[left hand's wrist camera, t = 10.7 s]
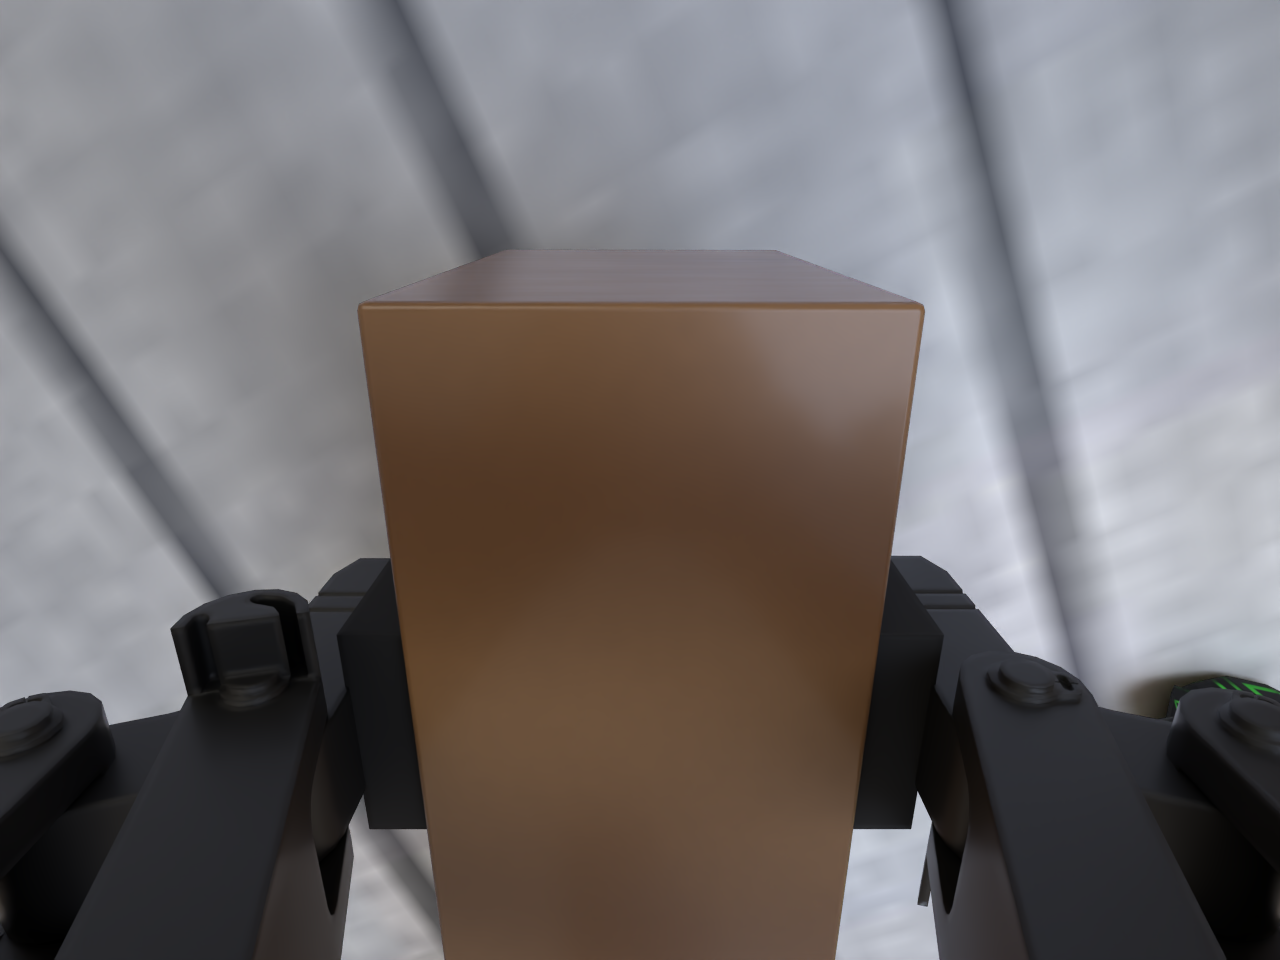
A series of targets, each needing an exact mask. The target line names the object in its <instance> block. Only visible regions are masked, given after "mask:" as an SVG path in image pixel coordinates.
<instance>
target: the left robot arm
mask: <svg viewBox="0 0 1280 960" xmlns="http://www.w3.org/2000/svg"><path fill="white" fill-rule="evenodd" d="M171 633H172V637H173V641H174V645H175V648H176V652H177V656H178V660H179V664H180V667H181V671H182V675H183V679H184V683H185V686H186V690H187V694H188V697H187V699H186V701H185V703H184V705H183V707H182V708H181V710H180V711H177V712H173V713H169V714H164V715H159V716H154V717H149V718H144V719H139V720H133V721H128V722H123V723H118V724H113V725H109V724H108V720H107V717H106V714H105V711H104V708H103V704H102V702H101V701H100V700H99V699H97V698H96V697H95V696H93V695H92V694H91V693H84V692H77V691H62V692H54V693H42V694H37V695H32V696H29V697H28V698H26V699H25V697H24V698H21V699H18V700H15V701H12V702H9V703H7V704H5V705H4V706H3V707H1V708H0V960H341V953H342V945H343V937H344V929H345V921H346V914H347V906H348V898H349V890H350V882H351V874H352V866H353V859H354V855H353V847H352V840H351V835H350V830H349V823H350V821H351V819H352V817H353V814H354V812H355V810H356V808H357V806H358V804H359V802H360V800H361V797H362V795H363V794H364V800H365V806H366V811H367V817H368V823H369V829H427V825H426V818H425V810H424V803H423V795H422V788H421V781H420V773H419V766H418V758H417V751H416V743H415V736H414V729H413V721H412V714H411V706H410V699H409V691H408V684H407V677H406V669H405V662H404V654H403V647H402V639H401V632H400V625H399V617H398V610H397V602H396V595H395V587H394V580H393V573H392V565H391V558H360V559H358V560H357V561H355V562H353V563H352V564H350V565H348V566H347V567H345V568H343V569H342V570H340V571H338V572H337V573H335V574H334V575H333V576H332V577H331V578H330V579H329V581H328V582H327V583H326V584H325V585H324V587H323V588H322V589H321V590H320V591H319V595H318V596H315V597H314V599H313V600H312V601H311V602H310V604H309V605H308V601H307V600H306V599H304V598H303V597H302V596H300V595H299V594H297V593H294V592H289V591H284V590H279V589H273V590H253V591H247V592H242V593H237V594H232V595H228V596H225V597H222V598H219V599H217V600H214V601H211V602H208V603H205V604H203V605H201V606H200V607H198V608H196V609H194V610H193V611H191V612H189V613H187V614H186V615H184V616H183V617H182V618H181V619H180V620H179V621H178V622H177V623H176V624H175V625H174V626H173V627H172V628H171ZM917 791H918V793H919V795H920V797H921V799H922V801H923V803H924V805H925V807H926V810H927V812H928V814H929V816H930V818H931V820H932V824H931V830H930V835H929V840H928V846H927V851H926V857H925V862H924V868H923V873H922V879H921V884H920V890H919V897H918V904H917V905H922V906H926V907H927V906H928V901H929V896H930V891H931V896H932V904H933V912H934V920H935V928H936V935H937V943H938V951H939V959H940V960H1280V703H1279V702H1277V701H1276V700H1274V699H1271V698H1268V697H1265V696H1262V695H1259V694H1257V695H1254V694H1253V693H1252V692H1247V691H1242V690H1231V689H1222V688H1214V687H1210V688H1203V689H1195V690H1191V691H1189V692H1188V693H1187V694H1185V695H1184V696H1182V697H1181V698H1180V700H1179V703H1178V707H1177V710H1176V713H1175V716H1174V719H1173V722H1169V721H1164V720H1159V719H1154V718H1149V717H1144V716H1138V715H1133V714H1128V713H1123V712H1118V711H1113V710H1109V709H1105V708H1101V707H1098V705H1097V703H1096V701H1095V699H1094V697H1093V695H1092V694H1091V693H1090V692H1089V690H1088V689H1087V688H1086V687H1085V686H1084V684H1083V683H1082V682H1081V681H1080V680H1079V679H1078V678H1076V677H1075V676H1073V675H1072V674H1070V673H1069V672H1067V671H1066V670H1064V669H1063V668H1061V667H1059V666H1057V665H1054V664H1052V663H1050V662H1047V661H1045V660H1042V659H1040V658H1037V657H1034V656H1029V655H1025V654H1021V653H1016V652H1014V651H1013V650H1012V649H1011V648H1010V646H1009V645H1008V644H1007V643H1006V642H1005V640H1004V639H1003V638H1002V637H1001V636H1000V634H999V633H998V632H997V631H996V630H995V628H994V627H993V626H992V625H991V624H990V622H989V621H988V620H987V619H986V618H985V616H984V615H983V614H982V613H981V612H980V610H979V609H975V604H974V603H973V602H972V601H971V600H970V598H969V597H968V596H967V595H966V594H963V593H962V589H961V588H960V586H959V585H958V584H957V583H956V582H955V581H954V579H953V578H952V577H951V576H950V575H949V573H948V572H947V571H945V570H943V569H942V568H940V567H938V566H937V565H935V564H933V563H932V562H930V561H928V560H927V559H925V558H923V557H922V556H891V560H890V567H889V574H888V581H887V588H886V596H885V603H884V610H883V617H882V624H881V632H880V639H879V646H878V653H877V660H876V668H875V675H874V682H873V689H872V696H871V703H870V711H869V718H868V725H867V732H866V739H865V747H864V754H863V761H862V768H861V775H860V783H859V790H858V797H857V804H856V811H855V819H854V826H853V829H911V826H912V820H913V814H914V809H915V803H916V797H917Z"/></svg>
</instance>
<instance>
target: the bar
mask: <svg viewBox="0 0 1280 960" xmlns="http://www.w3.org/2000/svg"><path fill="white" fill-rule="evenodd" d="M357 313H358V320H359V328H360V335H361V342H362V350H363V357H364V365H365V372H366V380H367V387H368V394H369V402H370V409H371V417H372V424H373V432H374V439H375V446H376V454H377V461H378V469H379V476H380V484H381V491H382V498H383V506H384V513H385V521H386V528H387V536H388V543H389V550H390V558H391V565H392V573H393V580H394V587H395V595H396V602H397V610H398V617H399V625H400V632H401V639H402V647H403V654H404V662H405V669H406V677H407V684H408V691H409V699H410V706H411V714H412V721H413V729H414V736H415V743H416V751H417V758H418V766H419V773H420V781H421V788H422V795H423V803H424V810H425V818H426V825H427V833H428V840H429V847H430V855H431V862H432V870H433V877H434V885H435V892H436V899H437V907H438V914H439V922H440V929H441V937H442V944H443V951H444V959H445V960H835V955H836V948H837V941H838V934H839V926H840V919H841V912H842V905H843V898H844V890H845V883H846V876H847V869H848V862H849V854H850V847H851V840H852V833H853V826H854V819H855V811H856V804H857V797H858V790H859V783H860V775H861V768H862V761H863V754H864V747H865V739H866V732H867V725H868V718H869V711H870V703H871V696H872V689H873V682H874V675H875V668H876V660H877V653H878V646H879V639H880V632H881V624H882V617H883V610H884V603H885V596H886V588H887V581H888V574H889V567H890V560H891V552H892V545H893V538H894V531H895V524H896V517H897V509H898V502H899V495H900V488H901V481H902V473H903V466H904V459H905V452H906V445H907V437H908V430H909V423H910V416H911V409H912V401H913V394H914V387H915V380H916V373H917V365H918V358H919V351H920V344H921V337H922V330H923V322H924V315H925V310H924V306H923V305H922V304H920V303H918V302H916V301H913V300H910V299H907V298H905V297H902V296H899V295H896V294H894V293H891V292H888V291H886V290H883V289H880V288H877V287H875V286H872V285H869V284H866V283H864V282H861V281H858V280H855V279H853V278H850V277H847V276H844V275H842V274H839V273H836V272H834V271H831V270H828V269H825V268H823V267H820V266H817V265H814V264H812V263H809V262H806V261H803V260H801V259H798V258H795V257H793V256H790V255H787V254H784V253H782V252H779V251H776V250H504V251H501V252H499V253H496V254H493V255H490V256H488V257H485V258H482V259H479V260H477V261H474V262H471V263H468V264H466V265H463V266H460V267H457V268H455V269H452V270H449V271H446V272H444V273H441V274H438V275H435V276H433V277H430V278H427V279H424V280H422V281H419V282H416V283H413V284H411V285H408V286H405V287H402V288H400V289H397V290H394V291H391V292H389V293H386V294H383V295H380V296H378V297H375V298H372V299H369V300H367V301H364V302H362V303H360V304H359V306H358V310H357Z"/></svg>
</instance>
